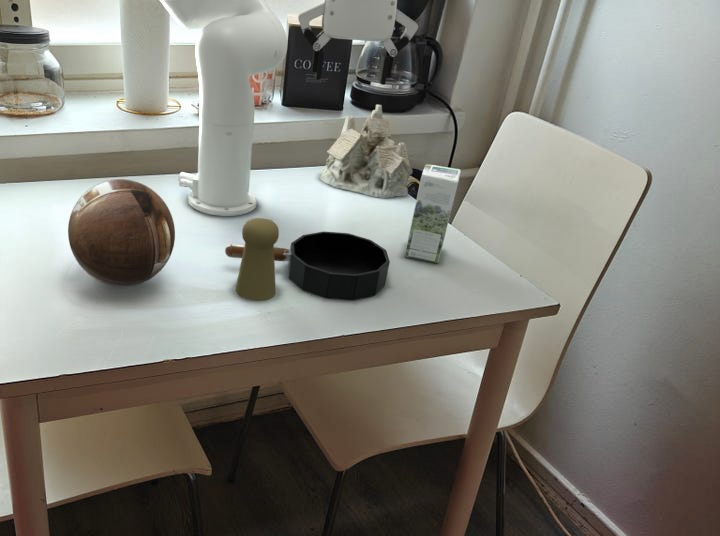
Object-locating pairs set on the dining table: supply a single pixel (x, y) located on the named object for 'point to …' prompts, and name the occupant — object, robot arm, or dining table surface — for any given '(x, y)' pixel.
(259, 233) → the olive game pawn
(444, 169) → the syrup box
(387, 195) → the ceramic cottage
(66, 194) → the dining table surface
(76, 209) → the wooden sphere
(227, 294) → the dining table surface
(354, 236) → the frying pan
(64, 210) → the dining table surface
